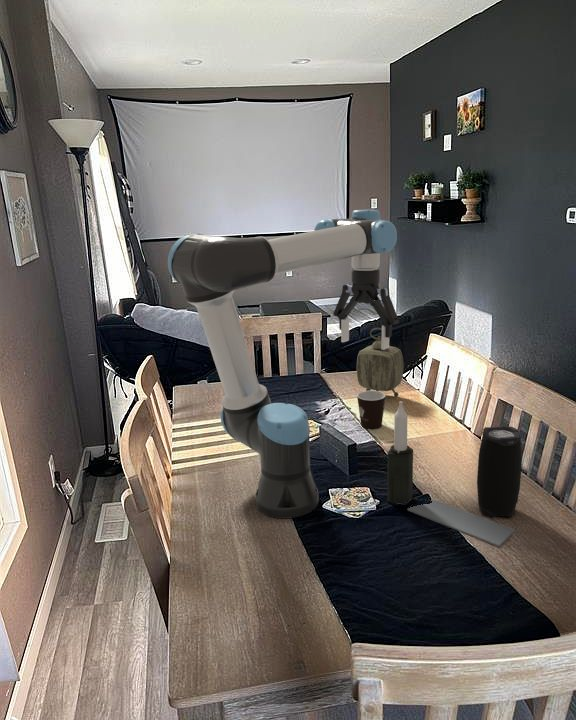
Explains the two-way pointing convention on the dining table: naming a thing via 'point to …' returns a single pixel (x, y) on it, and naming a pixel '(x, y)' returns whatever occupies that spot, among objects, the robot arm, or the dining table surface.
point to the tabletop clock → (379, 367)
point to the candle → (400, 461)
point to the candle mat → (464, 522)
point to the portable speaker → (499, 471)
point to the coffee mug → (371, 409)
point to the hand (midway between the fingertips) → (364, 345)
